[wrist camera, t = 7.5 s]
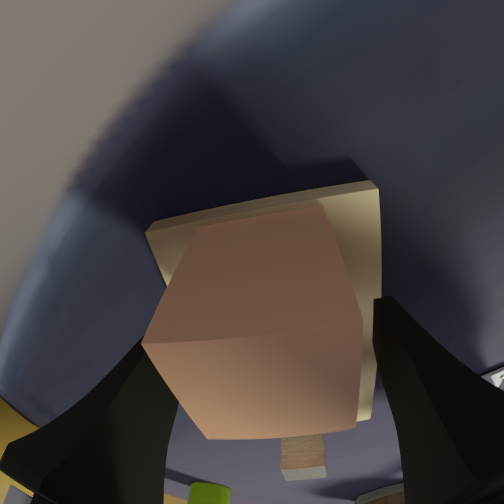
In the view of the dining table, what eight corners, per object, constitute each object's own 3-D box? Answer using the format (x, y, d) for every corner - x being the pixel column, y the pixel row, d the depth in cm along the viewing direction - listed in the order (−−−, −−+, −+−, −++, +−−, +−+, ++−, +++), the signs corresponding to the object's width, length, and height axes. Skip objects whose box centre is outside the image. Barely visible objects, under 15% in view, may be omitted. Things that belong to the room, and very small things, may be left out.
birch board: (367, 406, 21) (370, 418, 20) (245, 421, 22) (244, 433, 21) (370, 180, 12) (378, 188, 11) (153, 221, 14) (144, 232, 13)
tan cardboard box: (333, 306, 14) (355, 428, 9) (228, 320, 15) (207, 439, 9) (322, 205, 12) (363, 320, 6) (196, 227, 13) (141, 343, 7)
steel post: (322, 417, 20) (326, 477, 15) (287, 421, 20) (286, 480, 16) (320, 399, 18) (325, 465, 14) (281, 404, 19) (280, 469, 14)
